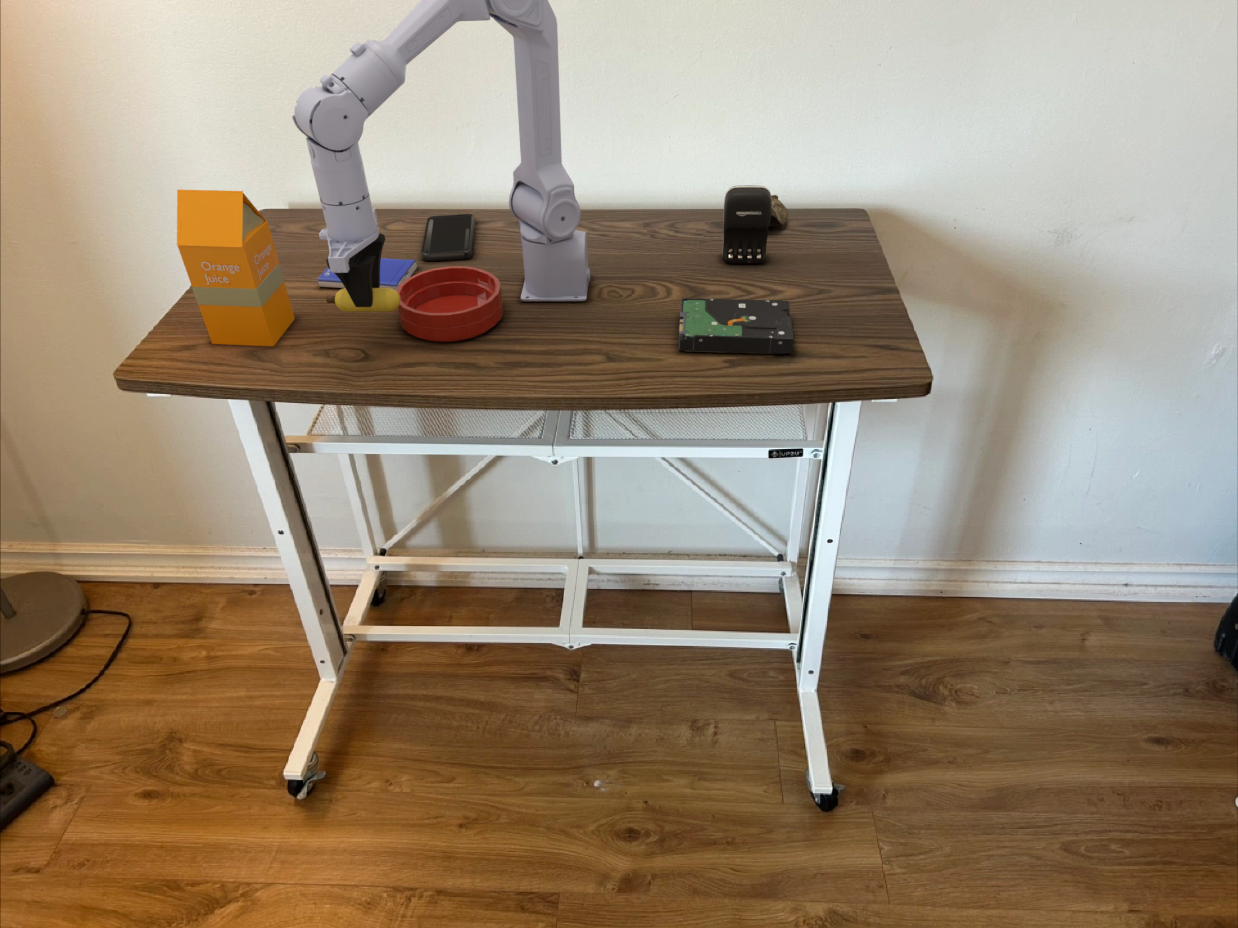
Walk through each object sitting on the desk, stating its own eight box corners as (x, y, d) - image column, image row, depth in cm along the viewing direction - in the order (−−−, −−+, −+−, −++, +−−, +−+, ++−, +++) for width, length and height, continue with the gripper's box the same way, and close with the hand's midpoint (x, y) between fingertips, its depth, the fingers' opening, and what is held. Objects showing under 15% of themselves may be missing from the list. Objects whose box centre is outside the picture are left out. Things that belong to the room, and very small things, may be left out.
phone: (420, 255, 138) (428, 215, 149) (421, 261, 138) (429, 222, 150) (471, 252, 138) (475, 213, 150) (472, 258, 139) (475, 219, 151)
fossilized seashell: (783, 199, 149) (724, 210, 150) (784, 174, 143) (722, 186, 144) (792, 237, 146) (731, 248, 147) (793, 213, 140) (730, 225, 141)
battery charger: (721, 266, 135) (725, 194, 128) (720, 255, 138) (724, 184, 131) (767, 267, 135) (774, 194, 128) (765, 255, 138) (772, 184, 131)
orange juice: (236, 316, 126) (191, 177, 114) (295, 318, 125) (257, 179, 113) (210, 344, 120) (160, 202, 108) (273, 347, 119) (229, 203, 107)
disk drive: (786, 317, 123) (679, 314, 124) (789, 299, 121) (680, 296, 122) (792, 357, 115) (677, 353, 116) (795, 338, 113) (678, 334, 114)
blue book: (317, 278, 132) (396, 283, 130) (339, 253, 138) (415, 258, 136) (319, 287, 133) (398, 293, 131) (341, 263, 139) (417, 267, 137)
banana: (404, 304, 116) (400, 283, 114) (399, 315, 114) (395, 294, 112) (333, 304, 116) (328, 284, 114) (327, 316, 114) (321, 295, 112)
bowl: (509, 294, 130) (506, 265, 127) (495, 344, 119) (492, 314, 116) (413, 294, 130) (408, 266, 127) (390, 344, 119) (384, 315, 116)
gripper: (328, 173, 111) (351, 273, 120) (291, 221, 100) (320, 327, 108) (384, 173, 111) (403, 272, 119) (353, 221, 100) (377, 327, 108)
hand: (367, 298), depth 114 cm, fingers closed on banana, 3 cm apart
